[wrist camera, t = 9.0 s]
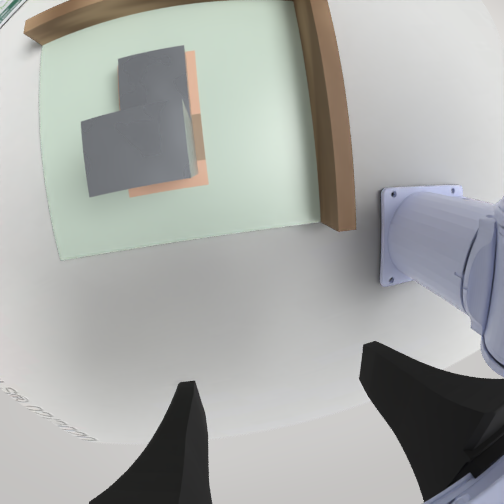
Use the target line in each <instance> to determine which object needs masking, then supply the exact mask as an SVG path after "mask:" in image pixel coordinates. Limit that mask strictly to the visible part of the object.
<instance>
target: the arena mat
mask: <svg viewBox="0 0 504 504" xmlns="http://www.w3.org/2000/svg"><path fill="white" fill-rule="evenodd" d="M181 45H184V48H185V53H186V61H187V73H188V84H189V95H190V105H191V114H192V124H193V133H194V141H195V150H196V158H197V166H198V174H197V175H195V176H193V177H192V178H187V179H181V180H175V181H169V182H163V183H158V184H152V185H147V186H142V187H137V188H131V189H127V190H122V191H117V192H112V193H108V194H103V195H99V196H94V197H90V198H89V192H88V185H87V178H86V171H85V163H84V155H83V145H82V134H81V121H84V120H88V119H91V118H94V117H98V116H101V115H105V114H109V113H113V112H117V111H120V98H119V78H118V59H119V58H123V57H127V56H131V55H135V54H139V53H144V52H148V51H153V50H158V49H164V48H169V47H175V46H181ZM39 117H40V139H41V152H42V162H43V171H44V179H45V186H46V193H47V199H48V205H49V211H50V216H51V221H52V226H53V231H54V235H55V240H56V244H57V248H58V252H59V256H60V260H61V261H64V260H69V259H75V258H81V257H87V256H93V255H99V254H105V253H111V252H117V251H123V250H129V249H136V248H142V247H148V246H155V245H161V244H168V243H174V242H181V241H188V240H194V239H201V238H208V237H215V236H222V235H229V234H236V233H243V232H250V231H258V230H265V229H272V228H280V227H287V226H295V225H303V224H311V223H319V222H321V217H320V201H319V186H318V174H317V162H316V151H315V141H314V131H313V123H312V114H311V106H310V98H309V91H308V83H307V77H306V70H305V63H304V57H303V51H302V45H301V39H300V34H299V28H298V23H297V18H296V13H295V8H294V3H293V1H283V0H229V1H214V2H203V3H193V4H186V5H178V6H172V7H166V8H160V9H155V10H150V11H145V12H141V13H136V14H132V15H128V16H124V17H120V18H117V19H113V20H110V21H106V22H103V23H100V24H97V25H94V26H91V27H88V28H85V29H82V30H79V31H76V32H74V33H71V34H68V35H66V36H63V37H61V38H58V39H56V40H54V41H51V42H49V43H47V44H45V45H42V53H41V65H40V87H39Z"/></svg>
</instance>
